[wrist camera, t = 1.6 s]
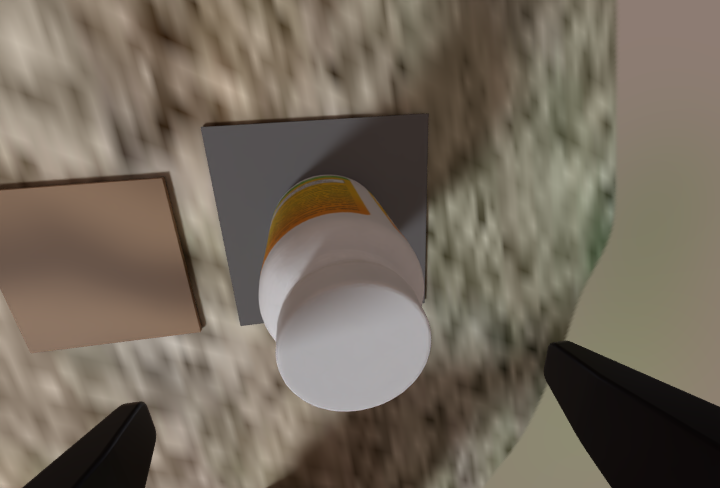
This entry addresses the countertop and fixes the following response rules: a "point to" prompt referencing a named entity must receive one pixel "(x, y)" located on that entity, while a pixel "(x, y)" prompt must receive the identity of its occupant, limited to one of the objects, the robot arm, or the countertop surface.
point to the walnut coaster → (94, 264)
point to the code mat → (304, 160)
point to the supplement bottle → (342, 297)
